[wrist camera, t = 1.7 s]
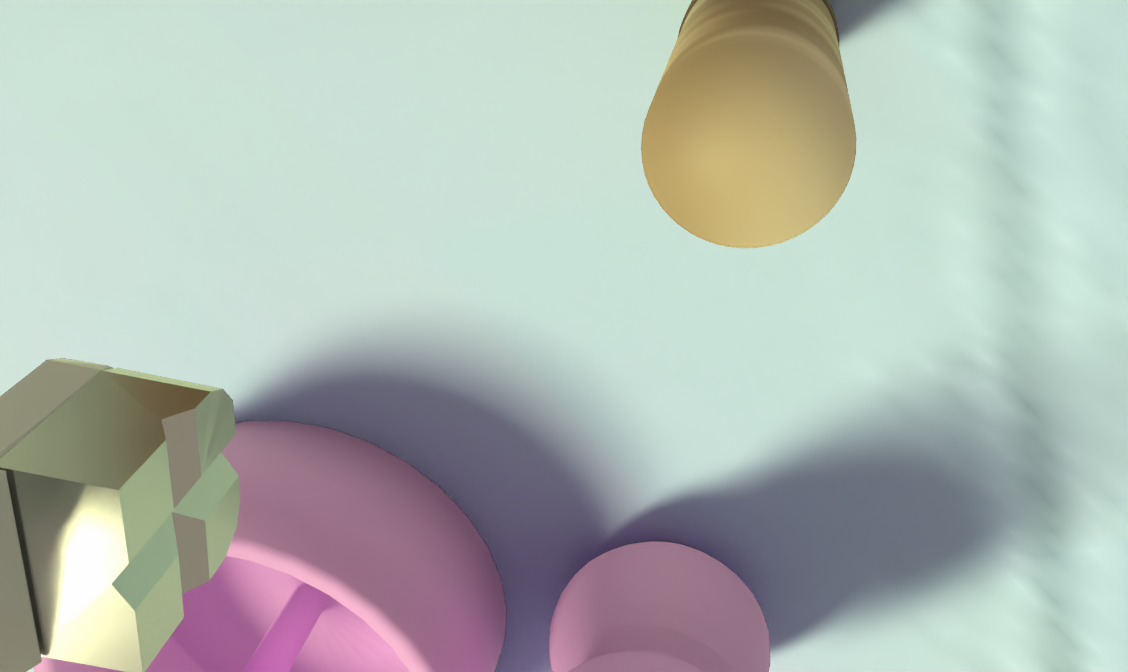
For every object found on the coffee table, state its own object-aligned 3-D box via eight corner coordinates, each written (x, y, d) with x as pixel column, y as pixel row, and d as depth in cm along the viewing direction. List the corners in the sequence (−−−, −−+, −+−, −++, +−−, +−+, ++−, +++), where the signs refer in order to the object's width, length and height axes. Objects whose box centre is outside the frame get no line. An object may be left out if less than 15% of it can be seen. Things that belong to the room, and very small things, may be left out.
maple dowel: (845, -50, 28) (882, 55, 17) (815, 91, 29) (833, 265, 19) (702, -68, 28) (653, 24, 17) (681, 73, 30) (626, 233, 19)
